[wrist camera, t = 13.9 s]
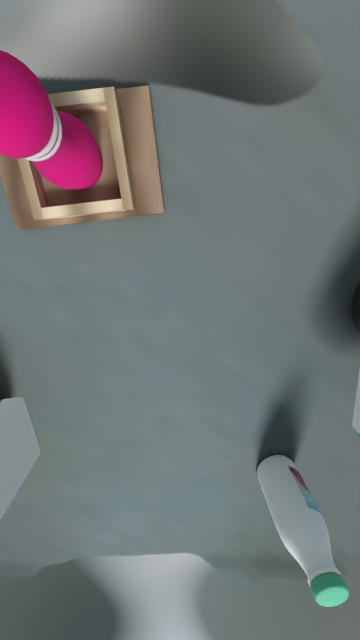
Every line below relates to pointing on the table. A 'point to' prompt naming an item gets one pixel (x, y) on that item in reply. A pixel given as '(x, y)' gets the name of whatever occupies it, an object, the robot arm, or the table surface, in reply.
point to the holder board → (118, 164)
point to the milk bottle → (301, 528)
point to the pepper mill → (44, 130)
